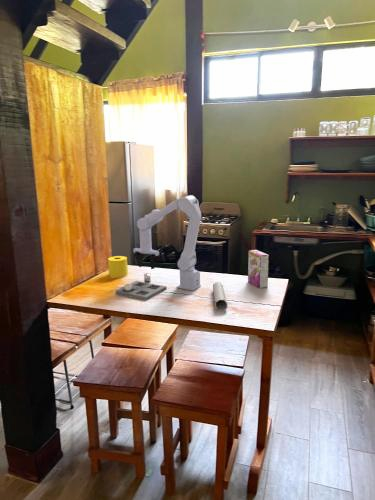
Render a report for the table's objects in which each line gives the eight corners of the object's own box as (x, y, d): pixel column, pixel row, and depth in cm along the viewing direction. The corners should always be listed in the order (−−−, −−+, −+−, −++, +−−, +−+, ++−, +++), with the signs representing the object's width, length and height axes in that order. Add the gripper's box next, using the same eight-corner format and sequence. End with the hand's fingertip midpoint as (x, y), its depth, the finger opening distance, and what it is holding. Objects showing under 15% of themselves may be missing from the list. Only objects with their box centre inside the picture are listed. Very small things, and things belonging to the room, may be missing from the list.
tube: (210, 282, 169) (212, 301, 144) (221, 278, 168) (225, 297, 144) (214, 292, 170) (217, 313, 145) (224, 288, 169) (229, 309, 145)
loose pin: (151, 281, 183) (151, 273, 182) (148, 283, 180) (147, 275, 179) (146, 280, 184) (146, 273, 183) (143, 282, 181) (142, 274, 180)
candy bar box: (247, 281, 180) (247, 250, 176) (255, 280, 181) (256, 249, 178) (259, 288, 170) (260, 255, 166) (268, 287, 171) (269, 254, 167)
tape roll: (120, 271, 201) (119, 255, 199) (131, 274, 194) (130, 258, 192) (105, 275, 194) (104, 258, 192) (116, 279, 187) (115, 261, 185)
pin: (133, 292, 167) (133, 284, 166) (129, 294, 164) (128, 286, 163) (128, 291, 168) (127, 283, 168) (123, 293, 166) (123, 285, 165)
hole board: (166, 289, 170) (166, 286, 170) (146, 300, 157) (146, 297, 157) (136, 283, 179) (136, 280, 179) (115, 293, 166) (115, 290, 165)
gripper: (129, 241, 177) (130, 267, 180) (152, 244, 170) (153, 271, 173) (137, 238, 183) (139, 264, 186) (161, 241, 176) (161, 267, 179)
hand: (146, 267), depth 180 cm, fingers open, 7 cm apart
